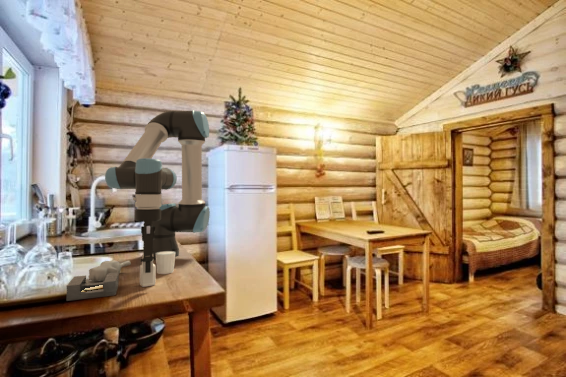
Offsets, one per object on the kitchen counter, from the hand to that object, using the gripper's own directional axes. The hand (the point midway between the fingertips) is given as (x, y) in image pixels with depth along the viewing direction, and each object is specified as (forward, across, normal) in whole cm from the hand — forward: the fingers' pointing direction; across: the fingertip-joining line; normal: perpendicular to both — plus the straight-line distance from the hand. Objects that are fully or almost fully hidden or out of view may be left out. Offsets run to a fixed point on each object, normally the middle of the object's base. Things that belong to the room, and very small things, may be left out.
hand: (147, 277), depth 96 cm
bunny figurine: (+3, -15, -12) cm, 20 cm away
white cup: (+2, -14, +6) cm, 15 cm away
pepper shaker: (+2, 0, 0) cm, 2 cm away
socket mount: (+2, +2, -14) cm, 14 cm away
